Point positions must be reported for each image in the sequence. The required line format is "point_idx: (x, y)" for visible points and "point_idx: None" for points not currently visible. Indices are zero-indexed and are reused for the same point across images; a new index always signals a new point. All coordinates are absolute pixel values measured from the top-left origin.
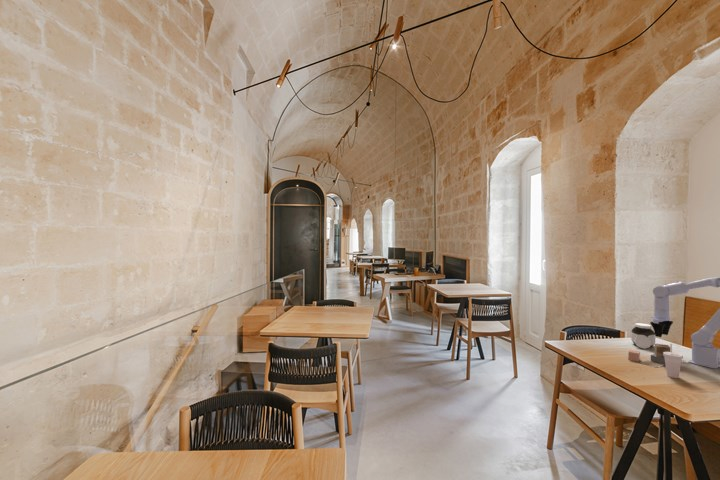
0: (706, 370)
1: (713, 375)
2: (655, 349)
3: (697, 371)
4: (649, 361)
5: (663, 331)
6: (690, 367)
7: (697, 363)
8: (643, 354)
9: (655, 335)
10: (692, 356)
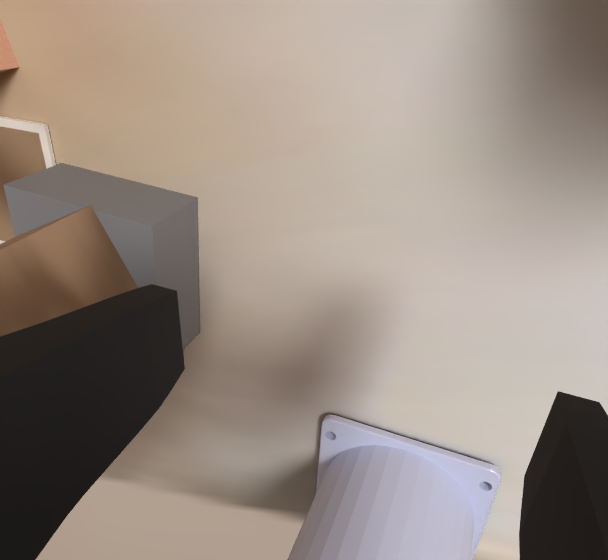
0: (228, 479)
1: (159, 489)
2: (4, 245)
3: (152, 433)
4: (20, 163)
5: (554, 490)
6: (202, 409)
7: (323, 467)
8: (243, 20)
9: (140, 287)
10: (346, 486)
